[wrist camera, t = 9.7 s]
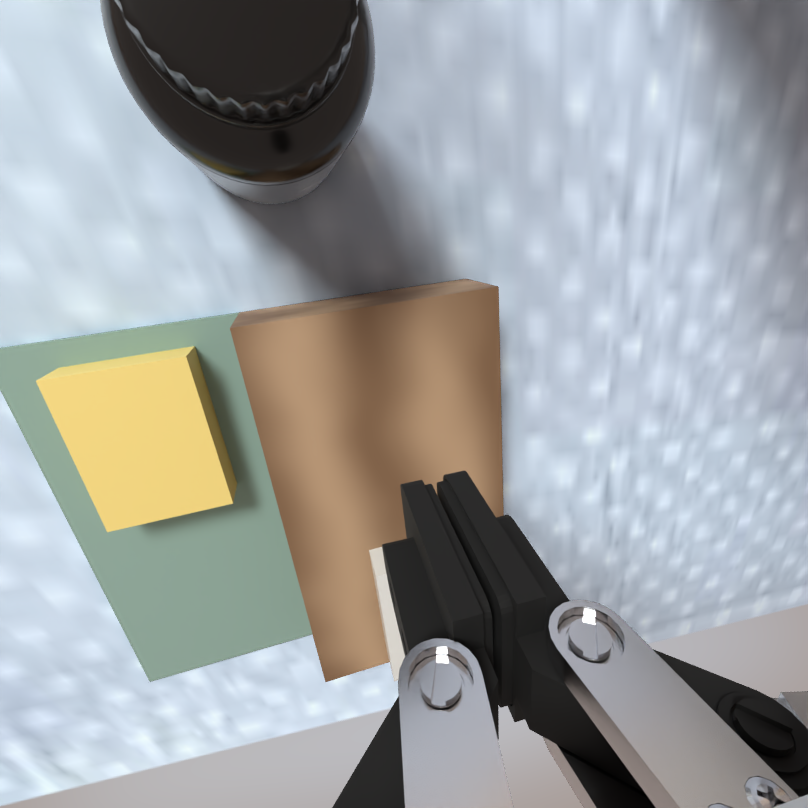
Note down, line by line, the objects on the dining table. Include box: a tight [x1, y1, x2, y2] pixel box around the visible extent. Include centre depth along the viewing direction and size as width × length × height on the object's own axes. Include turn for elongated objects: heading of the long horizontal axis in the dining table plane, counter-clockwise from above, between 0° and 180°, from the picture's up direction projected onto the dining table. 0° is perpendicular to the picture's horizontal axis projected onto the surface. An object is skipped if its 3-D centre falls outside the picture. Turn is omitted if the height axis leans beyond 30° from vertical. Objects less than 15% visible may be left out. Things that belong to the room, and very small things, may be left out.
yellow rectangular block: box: [36, 346, 237, 532], centre depth 21 cm, size 6×8×2 cm
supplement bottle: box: [100, 0, 375, 204], centre depth 13 cm, size 7×7×12 cm
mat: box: [0, 313, 312, 682], centre depth 24 cm, size 12×22×1 cm, turn 7°
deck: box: [230, 279, 503, 682], centre depth 25 cm, size 12×22×4 cm, turn 7°
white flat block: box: [369, 547, 405, 681], centre depth 25 cm, size 6×8×2 cm
